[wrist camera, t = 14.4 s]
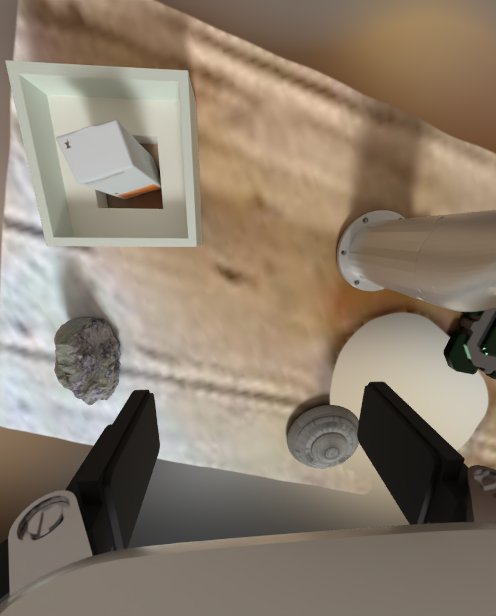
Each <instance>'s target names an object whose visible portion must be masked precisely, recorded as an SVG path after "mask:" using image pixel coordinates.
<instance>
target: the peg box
mask: <svg viewBox="0 0 496 616" xmlns="http://www.w3.org/2000/svg"><path fill="white" fill-rule="evenodd" d="M6 66H7V70H8V74H9V79H10V84H11V88H12V93H13V97H14V102H15V106H16V111H17V115H18V120H19V124H20V129H21V133H22V138H23V142H24V147H25V151H26V156H27V160H28V165H29V169H30V174H31V178H32V183H33V187H34V191H35V196H36V200H37V205H38V209H39V214H40V218H41V223H42V227H43V232H44V236H45V241H46V245H47V246H145V247H198V246H200V245H203V240H202V217H201V194H200V171H199V148H198V125H197V104H196V100H195V96H194V92H193V89H192V85H191V81H190V77H189V73H188V71H186V70H168V69H150V68H132V67H114V66H96V65H77V64H59V63H41V62H23V61H6ZM111 120H117V121H119V123H120V124H121V125H122V126H123V127H124V128H125V129H126V130H127V131H128V132H129V133H130V134H131V135H132V136H133V137H134V138H135V139H136V140H137V141H138V142H139V144H158V153H159V165H160V177H161V189H162V200H163V209H133V208H108V203H107V196H106V193H104V192H101V191H99V190H96V189H93V188H90V187H87V186H84V185H81V184H78V183H77V182H76V180H75V177H74V175H73V173H72V171H71V169H70V167H69V165H68V162H67V160H66V158H65V156H64V154H63V152H62V150H61V148H60V146H59V144H58V142H57V140H56V137H58V136H61V135H65V134H68V133H71V132H74V131H77V130H80V129H82V128H84V127H88V126H94V125H98V124H101V123H105V122H108V121H111Z"/></svg>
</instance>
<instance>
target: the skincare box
mask: <svg viewBox="0 0 496 616" xmlns="http://www.w3.org/2000/svg"><path fill="white" fill-rule="evenodd" d="M56 140H57V142H58V144H59V146H60V148H61V150H62V152H63V154H64V156H65V158H66V160H67V162H68V165H69V167H70V169H71V171H72V173H73V175H74V177H75V180H76V182H77V183H78V184H81V185H84V186H87V187H90V188H93V189H96V190H99V191H101V192H104V193H107V194H110V195H113V196H116V197H119V198H122V199H125V200H126V199H129V198H131V197H135V196H138V195H141V194H144V193H148V192H151V191H155V190H158V189H161V179H160V176H159V173H158V170H157V167H156V165H155V162H154V159H153V157H152V156H151V155H150V154H149V153H148V152H147V151H146V150H145V149H144V148H143V146H141V145H140V144H139V142H138V141H137V140H136V139H135V138H134V137H133V136H132V135H131V134H130V133H129V132H128V131H127V130H126V129H125V128H124V127H123V126H122V125H121V124H120V123H119V121H117V120H111V121H108V122H105V123H101V124H98V125H94V126H88V127H84V128H82V129H80V130H77V131H74V132H71V133H68V134H65V135H61V136H58V137H56Z"/></svg>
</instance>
